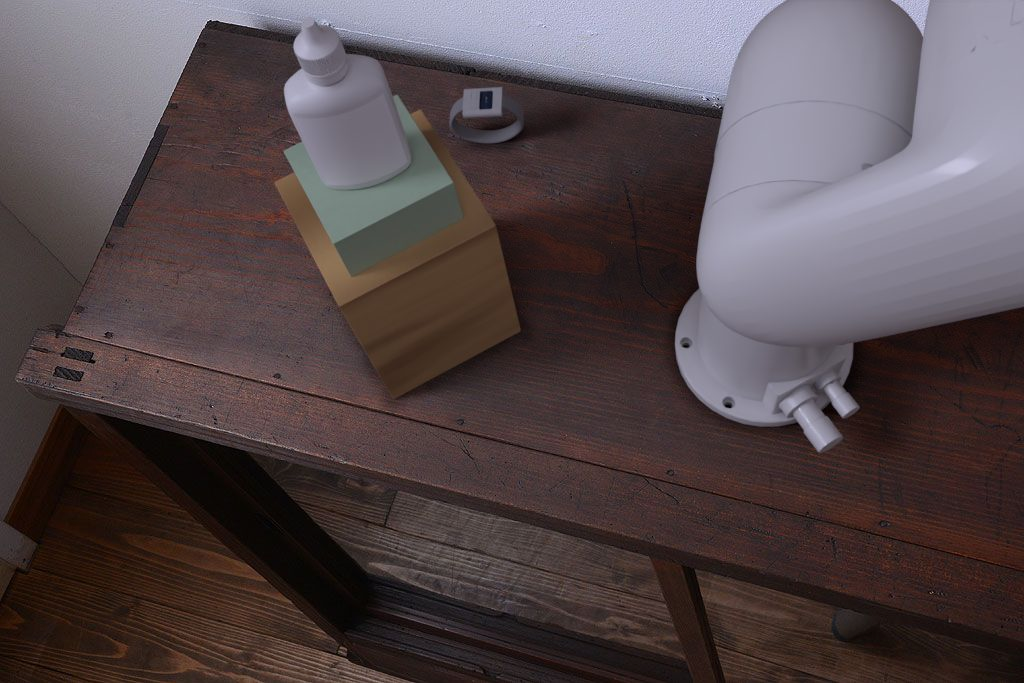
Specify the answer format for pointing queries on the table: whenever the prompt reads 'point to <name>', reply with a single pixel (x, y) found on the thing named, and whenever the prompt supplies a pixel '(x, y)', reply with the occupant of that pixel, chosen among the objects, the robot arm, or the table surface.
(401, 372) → the stand
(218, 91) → the table surface
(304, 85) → the eye dropper bottle
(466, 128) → the wristwatch
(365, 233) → the block
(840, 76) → the robot arm
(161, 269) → the table surface
